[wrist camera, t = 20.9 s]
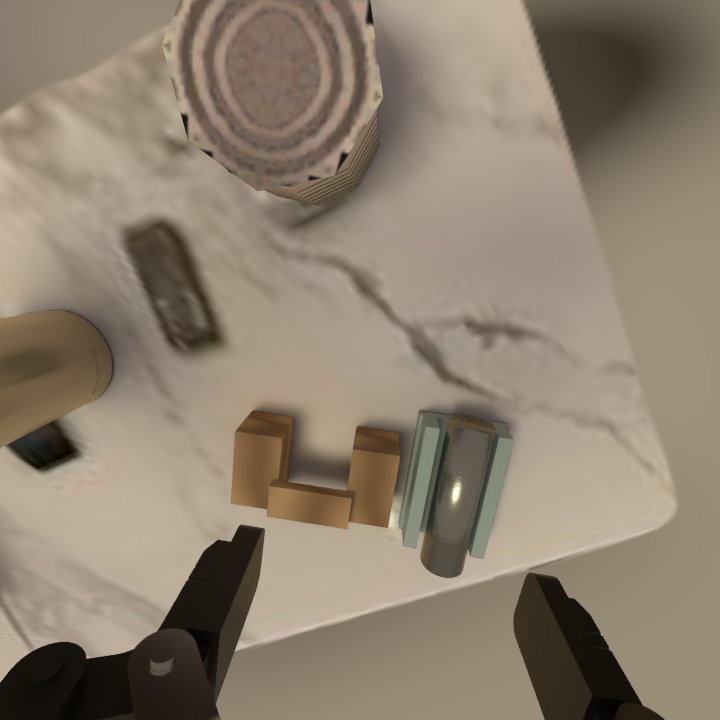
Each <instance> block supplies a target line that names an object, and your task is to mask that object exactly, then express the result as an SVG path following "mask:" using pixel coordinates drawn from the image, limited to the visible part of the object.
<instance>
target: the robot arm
mask: <svg viewBox="0 0 720 720" xmlns="http://www.w3.org/2000/svg"><path fill="white" fill-rule="evenodd" d="M111 376H112V359H111V354H110V351H109V348H108V346H107V344H106V342H105V340H104V339H103V337H102V335H101V334H100V333H99V332H98V331H97V329H96V328H95V327H94V326H92V325H91V324H90V323H89V322H88V321H87V320H85V319H83V318H81V317H80V316H78V315H76V314H73V313H70V312H67V311H61V310H49V311H42V312H36V313H31V314H25V315H19V316H14V317H7V318H2V319H0V448H1V447H3V446H5V445H7V444H9V443H11V442H13V441H15V440H17V439H19V438H21V437H23V436H25V435H27V434H29V433H30V432H32V431H34V430H36V429H38V428H40V427H42V426H44V425H46V424H48V423H50V422H52V421H54V420H56V419H58V418H60V417H62V416H64V415H66V414H68V413H70V412H72V411H73V410H75V409H77V408H79V407H81V406H83V405H85V404H87V403H89V402H91V401H93V400H94V399H96V398H98V397H99V396H100V395H101V394H102V393H103V392H104V391H105V389H106V388H107V386H108V385H109V382H110V379H111ZM264 535H265V529H264V528H258V527H252V526H246V525H240V526H239V527H238V529H237V531H236V533H235V535H234V537H233V539H232V541H231V542H228V541H222V540H217V541H216V542H215V543H213V544H212V545H211V546H210V547H208V548H207V549H206V550H205V551H204V552H203V554H202V555H201V557H200V559H199V561H198V562H197V564H196V566H195V568H194V569H193V571H192V573H191V574H190V576H189V579H188V581H186V583H185V585H184V587H183V588H182V590H181V592H180V594H179V595H178V597H177V599H176V601H175V602H174V604H173V606H172V607H171V609H170V611H169V613H168V614H167V616H166V618H165V620H164V621H163V623H162V625H161V626H160V628H159V629H158V631H157V632H155V633H152V634H151V635H149V636H147V637H146V638H145V639H143V640H142V641H141V642H140V643H139V644H138V645H137V646H136V647H135V649H133V650H131V651H128V652H125V653H121V654H116V655H110V656H103V657H96V658H90V659H86V654H85V652H84V650H83V649H82V648H81V647H80V646H79V645H77V644H74V643H70V642H57V643H52V644H48V645H46V646H43V647H40V648H38V649H36V650H34V651H33V652H31V653H29V654H28V655H26V656H25V657H23V658H22V659H21V660H20V661H19V662H18V663H16V664H15V665H14V667H13V668H12V669H11V670H10V671H9V672H8V674H7V675H6V676H5V677H4V679H3V680H2V681H1V682H0V720H221V719H220V716H219V713H218V710H217V707H216V702H217V699H218V696H219V693H220V690H221V687H222V685H223V682H224V679H225V676H226V674H227V671H228V668H229V665H230V662H231V659H232V657H233V654H234V651H235V648H236V646H237V643H238V640H239V637H240V634H241V632H242V629H243V626H244V623H245V620H246V617H247V615H248V612H249V609H250V606H251V603H252V601H253V598H254V595H255V592H256V589H257V585H258V581H259V576H260V570H261V561H262V553H263V544H264ZM514 633H515V637H516V640H517V643H518V645H519V648H520V651H521V654H522V656H523V659H524V662H525V665H526V668H527V671H528V674H529V676H530V679H531V682H532V685H533V687H534V690H535V693H536V696H537V699H538V701H539V705H540V707H541V710H542V713H543V716H544V719H545V720H664V718H662V717H661V716H660V715H658V714H657V713H656V712H654V711H652V710H650V709H649V708H647V707H645V706H643V705H642V703H641V701H640V700H639V698H638V696H637V694H636V693H635V691H634V689H633V688H632V686H631V684H630V682H629V681H628V679H627V677H626V676H625V674H624V672H623V671H622V669H621V667H620V665H619V664H618V662H617V660H616V658H615V657H614V655H613V653H612V652H611V651H610V650H609V646H608V645H607V643H606V641H605V639H604V638H603V636H601V635H600V631H599V629H598V628H597V626H596V624H595V622H594V620H593V619H592V617H591V615H590V614H589V613H588V612H587V611H586V610H585V609H584V608H583V607H582V606H581V605H580V604H579V603H578V602H577V601H576V600H575V599H573V598H568V596H567V594H566V593H565V591H564V589H563V587H562V585H561V583H560V582H559V580H558V579H557V578H556V577H554V576H548V575H542V574H536V573H528V574H527V576H526V578H525V581H524V584H523V587H522V590H521V594H520V596H519V600H518V603H517V606H516V609H515V613H514Z"/></svg>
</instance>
